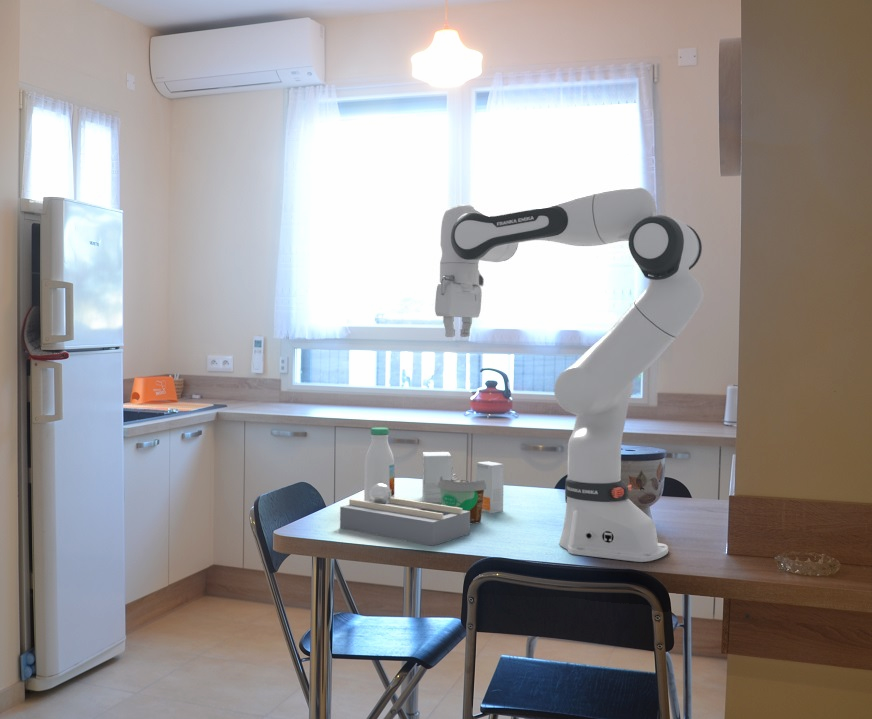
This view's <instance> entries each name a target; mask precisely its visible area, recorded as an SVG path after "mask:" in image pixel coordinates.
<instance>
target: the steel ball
mask: <svg viewBox="0 0 872 719" xmlns="http://www.w3.org/2000/svg"><path fill="white" fill-rule="evenodd" d="M370 499H371V501H372V502H373V503H379V504H387V503H388V502H389V501H390V499H391V490H390V488H389V487H388V486H387V485H385V484H382V483H379V484H376V485H374V486H373V487H372V488H371V490H370Z"/></svg>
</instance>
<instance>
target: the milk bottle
mask: <svg viewBox="0 0 872 719" xmlns="http://www.w3.org/2000/svg"><path fill="white" fill-rule="evenodd" d="M389 430H390V429H389V428H388V427H381V426H380V427H379V426H378V427H371V428H370V437H371V440H370V445H369V447H368V449H367V452H366V454H365V458H364V480H363V481H364V484H363V486H364V488H363V489H364V491H363V492H364V495H363V496H364V499H363V501H367V500H370V490H371V488H372V487H373V486H374V485H376V484H379V483H382V484H385V485H387V486H388V487H389V488H390V490H391V498H395V457H394V453H393V452H392V451H393V450H392V448H391V447H390V443H389V441H388V440H389V439H388V437H389V434H390V433H389V432H390V431H389Z"/></svg>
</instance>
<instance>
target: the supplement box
mask: <svg viewBox="0 0 872 719" xmlns="http://www.w3.org/2000/svg"><path fill="white" fill-rule="evenodd" d="M451 466H452V455H451V453H450V452H449V451H423V452H422V500H423V499H424V500H423V502H425V503H441V493H440V488H438V487H437V485H438V480H439V479H440V477H441V476H442V477H443V480H449V481H451V478H452V475H451V468H452V467H451Z"/></svg>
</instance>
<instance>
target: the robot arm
mask: <svg viewBox="0 0 872 719" xmlns="http://www.w3.org/2000/svg"><path fill="white" fill-rule="evenodd" d="M440 227H441V228H440V248H441V258H440V260H439V283H438V284H437V286H436V289H435V290H436V291H435V303H434V312H435V315H436V316H437V317H443V318H442V321H443V325H444V326H443V327H444V330H445V335H444V336H445V337H446V338H455V336H456V329H455V328H454V323H455V318H461V322H462V325H461V329H460V337H462V338H469V337H470V334H471V332H470V331H471V328H472V324H473V319H474V318H476V319H477V318H479V316H480V314H481V309H482V308H481V307H482V294H483V293H482V287H484V285H485V284H484V283H485V282H484V281H485V280H484V277H483V275H482V274H481V273H480V270H479V264H480V263H479V262H480V261H481V262H482V261H485V262H489V263H490V262H492V263H502V262H505V261H509V259H512V257H513V256H514V255H515V254H516V252H517V250H518V246H519V243H523V242H524V243H525V242H531V241H547V242H554V243H560V244H565V245H570V246H574V247H595V246H604V245H608V244H609V245H610V244H613V243H618V242H628V248H629V252H630V255H631V257H632V258H633V260H634V261H635V263H636V265H637V266H638V267H639V270H640V271H641V272H642V275H643V276H644V277H645V278H646V279H648V280H649V281H648V284H647V286H646V287H645V289H644V290H643V291H642V293H641V294H640V295H639V296H638V297H637V298H636V299H635V301H634V302H633V303H632V304H631V305H630V306H629V308H628V309H627V310H625V312H624V313H623V314H622V316H621V317H620V318H619V319H618V321H617V322H615V324H614V325H613V326H612V327H611V328H610V330H609V331H607V333H605V334H604V335H603V336H602V337H600V339H599V340H597V341H596V342H595V343H594V344H593V345H592V346H590V347H589V349H587V350H586V351H585V352H584V353H582V355H581V356H579V358H577V360H576V361H574V362H573V363H572V364H571V365H570V366H568V367H567V368H566V369H565V370H563V371H562V372H561V373H560V374H559V375H558V376H557V379H556V381H555V383H554V386H553V387H554V391H553V393H554V397H555V400H556V403H557V404H558V405H559V406H560V408H562V409H563V410H564V411H565V412H567V413H570V414H573V415H575V418H576V419H575V422H574V426H573V430H572V431H571V432H572V433H571V435H570V437H569V439H568V443H567V477H566V478H565V487H564V488H565V489H564V490H565V491H564V492H565V494H564V497H565V498H564V499H565V500H564V501H565V503H566V504H565V505H566V506H565V516H564V522H563V527H562V531H561V535H560V539H559V541H558V545H559V546H560V547H562V548H564V549H565V550H567V552H568V553H569V554H570V555H576V556H577V555H578V556H587V557H595V558H603V559H613V560H618V561H619V560H621V561H626V562H627V561H629V562H635V563H637V562H639V563H643V562H645V563H646V562H652V561H654V560H655V561H656V560H658V559H660V558H661V559H662V557H664V556H666V555H667V554H668V553H669V546H668V545H667V544H666V543H660V542H658V535H657V534H658V533H657V528H656V525H655V522H654V520H653V519H652V518H651V517H650V516H648V515H647V514H646V513H645V512H644V511H643V510H641V508H639V507H638V506H637V505H636V504H634V502H633V501H631V500H630V498H629V495H630V494H629V491H632V486H633V485H632V484H629V485H627V484H626V483H625V482H624V481H623V479H621V476H622V475H621V471H622V468H621V467H622V442H623V435H624V429H625V426H626V421H627V420H626V419H627V414H628V408H629V402H630V400H631V397H632V396H633V393H634V379H636V378H637V377H638V376H640V375H641V374H642V373H643V372H644V371H645V370H647V369H649V368H650V367H651V366H652V365H653V364H654V363H655V362H656V361H657V359H658V358H659V357H660V356H661V355H662V354H663V353H664V352H665V351H666V350H667V349H668V347H669V346H670V345H671V344H672V343H673V341H675V340H676V339H677V337H678V336H679V335H680V333H682V332H683V331H684V329H685V328H686V326H687V325H688V324H689V322H690V321H691V320H692V318H693V317H694V315H695V314H696V312H697V311H698V309H699V307H700V306H701V304H702V302H703V299H704V290H703V288H702V285H701V284H700V282H699V281H698V280H697V278H696V277H694V276H693V275H692V273H691V272H690V271H691V269H693V268H694V267H695V266H696V265H697V263H699V260H700V258H701V256H702V251H703V247H702V246H703V245H702V240H701V238H700V236H699V233H697V231H696V230H695V229H694V228H692V227H691V226H690V225H688V224H686V223H685V222H683V221H682V220H680V219H678V218H674V217H670V216H667V215H662V214H661V215H660V214H658V210H657V204H656V201H655V199H654V197H653V195H652V194H651V193H650V191H648V190H647V189H645V188H643V187H639V186H635V187H634V186H633V187H632V186H631V187H628V186H627V187H618V188H617V187H616V188H610V189H604V190H599V191H594V192H590V193H587V194H583V195H579V196H576V197H573V198H570V199H567V200H563V201H560V202H556V203H552V204H549V205H545V206H542V207H539V208H534V209H528V210H522V211H518V212H511V213H505V214H501V215H492V216H491V215H489V214H487V213H484V212H483V211H481V210H479V208H477V207H476V206H475V205H472V204H459V205H455V206H452V207H449V208H447V210H446V211H445V212H444V214H443V217H442V220H441V225H440Z"/></svg>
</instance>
